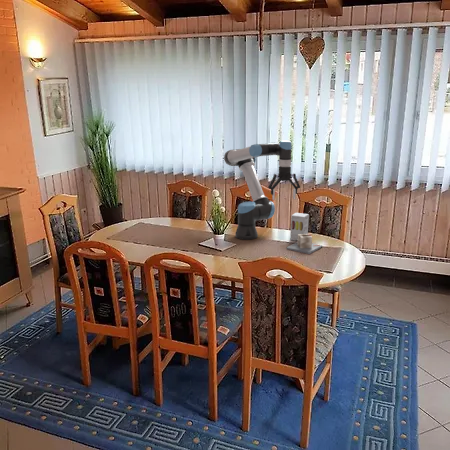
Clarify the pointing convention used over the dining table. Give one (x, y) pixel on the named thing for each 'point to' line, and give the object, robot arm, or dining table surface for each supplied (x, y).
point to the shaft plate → (304, 250)
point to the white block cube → (304, 240)
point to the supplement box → (298, 225)
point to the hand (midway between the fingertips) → (283, 199)
